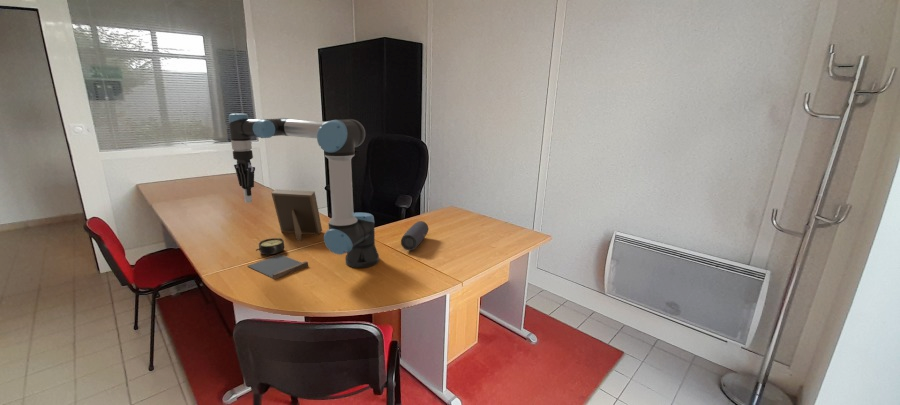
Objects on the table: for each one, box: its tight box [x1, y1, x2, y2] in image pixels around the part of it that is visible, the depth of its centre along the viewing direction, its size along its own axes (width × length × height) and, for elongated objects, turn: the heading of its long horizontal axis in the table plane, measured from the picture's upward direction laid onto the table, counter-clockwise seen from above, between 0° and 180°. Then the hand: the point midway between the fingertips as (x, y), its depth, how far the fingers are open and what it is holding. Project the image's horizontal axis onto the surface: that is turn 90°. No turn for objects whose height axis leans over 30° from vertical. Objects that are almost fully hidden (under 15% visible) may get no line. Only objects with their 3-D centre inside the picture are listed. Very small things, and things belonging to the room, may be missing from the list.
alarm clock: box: [255, 237, 285, 258], centre depth 181 cm, size 11×5×16 cm
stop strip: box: [272, 260, 309, 280], centre depth 159 cm, size 2×16×2 cm, turn 147°
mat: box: [247, 254, 302, 279], centre depth 165 cm, size 20×16×1 cm
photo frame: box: [271, 188, 323, 241], centre depth 199 cm, size 15×22×25 cm
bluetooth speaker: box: [400, 220, 429, 251], centre depth 193 cm, size 23×9×10 cm, turn 168°
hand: (248, 202), depth 167 cm, fingers closed
